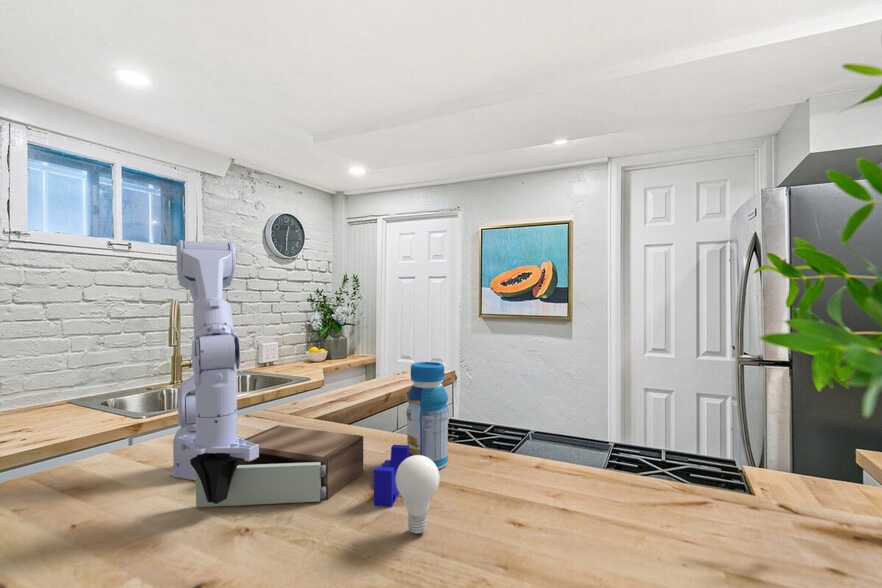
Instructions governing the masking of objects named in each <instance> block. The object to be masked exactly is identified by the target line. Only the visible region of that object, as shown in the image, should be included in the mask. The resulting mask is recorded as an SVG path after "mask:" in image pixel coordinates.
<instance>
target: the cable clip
mask: <svg viewBox="0 0 882 588" xmlns="http://www.w3.org/2000/svg"><path fill="white" fill-rule="evenodd" d="M408 457H409V445H408V444H406V445H405V444H393V445H392V446H391V447H390V459H385V460H384V462H383V463H382V464H381V466H375V468H374V469H373V507H374V506H375V507H385V508H392V507H393V506H394V504H395V502H396V500H397V499H398V497H399V496H400V494H399V492H398V490H397V487H396V482H395V476H396V472H397V469H398V467H399V465H400V464H401V463H402V462H403V461H404V460H405V459H406V458H408Z"/></svg>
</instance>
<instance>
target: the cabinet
mask: <svg viewBox="0 0 882 588" xmlns="http://www.w3.org/2000/svg"><path fill="white" fill-rule="evenodd" d="M243 439H244V440H246V441H248V442H251V443H254V444H259V457H258V458H256V459H254V460H251V461H245V460H244V458H242V459H241V460H240V462H239V464H238V465H257V464H283V463H309V462H321V465H322V464H324V465H326V476H324V477H321V486H326V498H324V499H323V500H329V499H331V498H332V497H334V496H335V495H336V494H337V493H339V492H340V491H342V490H343V489H344V488H345V487H347V486H348V485H349V484H350V483H352V482H353V481H354V480H356V479H357V478H359V477H360V476H361V475H363V473H364V472H365V471H364V435H360V434H350V433H343V432H342V433H341V432H335V431H327V430H326V431H325V430H320V429H319V430H317V429H310V428H303V427H295V426H288V425H280V424H278V425H274V426H272V427H271V428H268V429H265V430H263V431H260V432H257V433H256V434H254V435H251V436H249V437H247V438H243Z"/></svg>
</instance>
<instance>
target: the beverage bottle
mask: <svg viewBox="0 0 882 588" xmlns="http://www.w3.org/2000/svg"><path fill="white" fill-rule="evenodd" d="M444 380H445V366H444V363H442V362H436V361H420V362H419V361H418V362H413V363H412V364H411V365H410V381H411V382H412V383H413V384H412V385H411V387H410V388H409V391H408V393H407V396H406V401H407V403H408V405H407V408H406V413H405V414H406V421H407V422H406V423H407V424H406V425H407V426H406V427H407V428H406V431H407V433H406V435H407V445H409V457H410V456H413V455H423V456H426V457H428V458H430V459H431V460H432V461H433V462H434V463H435V464H436V466H437V468H438V470H441V469H443V468H445V467H446V466H448V463H449V451H448V450H449V449H448V448H449V442H448V441H449V440H448V439H449V435H448V434H449V432H448V431H449V429H448V428H449V425H448V424H449V416H450V415H449V414H450V410H449V407H448V404H447V403H448V401H449V395H448V392H447V390H446V388H445V387H444V385H443V382H444Z"/></svg>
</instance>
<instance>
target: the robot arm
mask: <svg viewBox="0 0 882 588" xmlns="http://www.w3.org/2000/svg"><path fill="white" fill-rule="evenodd" d="M236 256H237V253H236V246H235V245H234V244H233V242H229V241H228V242H213V241H212V242H211V241H190V240H183V239H179V240H178V241H176V271H177V281H178V285H179V286H180V287H182V288H184V289H187V290H189V293H190V296H191V298H192V302H193V303H192V304H193V305H192V306H193V308H192V318H193V319H192V321H193V339H192V342H191V366H192V367H191V368H192V371H193V375H191V377H188V379H187V380H185V381H184V382H182V383H181V384H180V386H179V388H178V396H177V418H178V421H177V423H178V424H177V425H178V426H179V428H178V430H177V431H176V433H175V434H174V437H173V439H172V442H173V443H172V448H173V449H172V450H173V451H172V454H173V455H172V457H173V459H172V460H173V462H172V463H173V464H172V465H173V467H172V468H173V471H171V472H169V473H168V474H169V476H170V477H174V478H181V479H185V480H191V481H195V482H196V472H197V474H198V476H199V478H200V480H201V483H202V485H203V488H204V492H205V495H206V498H207V501H208V502H209V503H211V502H213V503H214V504H218V503H220V502H221V501H223V500H225V499H227V495H228V491H229V487H230V483H231V480H232V477H233V474H234V472H235V470H236V468H237V466H238V464H239V462H240V460H241V459H242V458H244V460H245V461H251V460H254V459H256V458H258V457H259V444H254V443H251V442H248V441H246V440H244V439H245V438H241V437H239V436H238V387H237V386H238V384H237V383H238V379H237V377H238V372H237V371H239V370H240V365H241V360H242V352H241V350H242V349H241V346H242V345H241V341H240V337H239V334H238V333H237V332H238V331H237V329H236V328H234V322H233V321H234V320H233V313H232V307H231V304H230V303H229V302H228V301H227V300H225V299H223V295H224V294H223V292H224V290H223V289H225V288H228V287H230V286H231V284H232V282H233V280H234V273H235V271H236V263H237V260H236V258H237V257H236ZM235 367H236V370H235ZM192 391H195V392H192Z"/></svg>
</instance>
